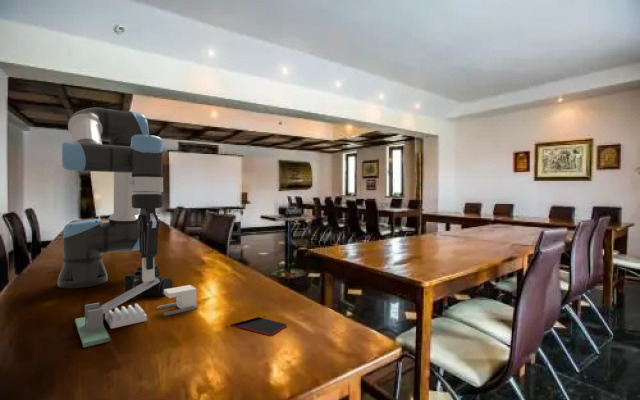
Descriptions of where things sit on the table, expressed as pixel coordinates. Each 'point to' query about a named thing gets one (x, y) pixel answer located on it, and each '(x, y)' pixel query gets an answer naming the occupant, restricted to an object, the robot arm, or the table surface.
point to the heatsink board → (112, 321)
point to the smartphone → (261, 326)
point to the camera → (136, 279)
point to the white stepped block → (182, 296)
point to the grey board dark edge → (128, 295)
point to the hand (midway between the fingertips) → (148, 280)
